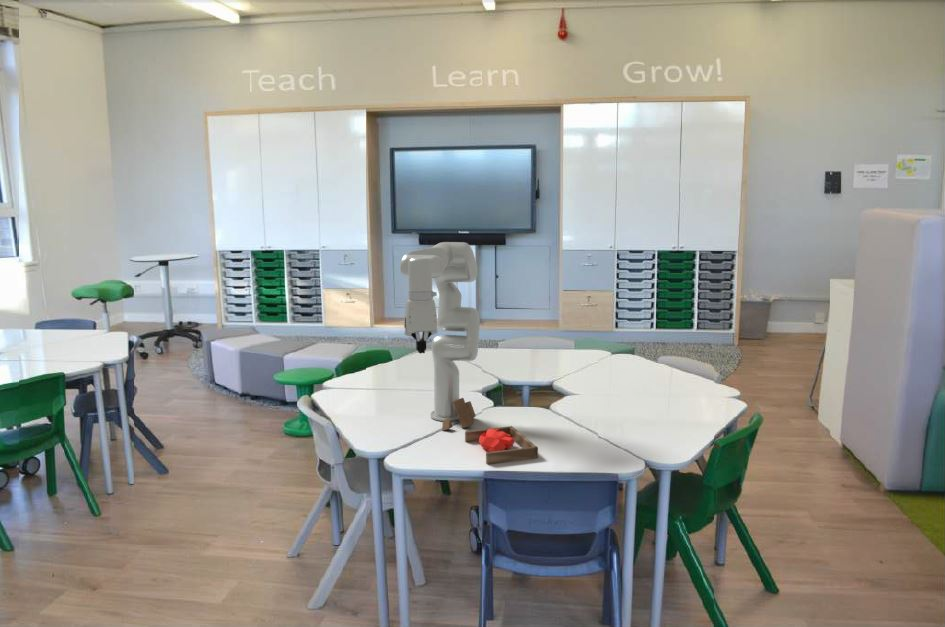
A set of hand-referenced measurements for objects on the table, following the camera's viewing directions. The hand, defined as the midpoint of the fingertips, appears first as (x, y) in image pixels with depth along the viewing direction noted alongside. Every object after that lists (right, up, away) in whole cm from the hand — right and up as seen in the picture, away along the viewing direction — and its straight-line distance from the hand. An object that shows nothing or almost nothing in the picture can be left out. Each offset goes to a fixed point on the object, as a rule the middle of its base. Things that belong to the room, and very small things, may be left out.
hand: (421, 352), depth 225 cm
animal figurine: (+25, -33, +6) cm, 42 cm away
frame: (+25, -33, +6) cm, 42 cm away
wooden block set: (+13, -29, +31) cm, 44 cm away
